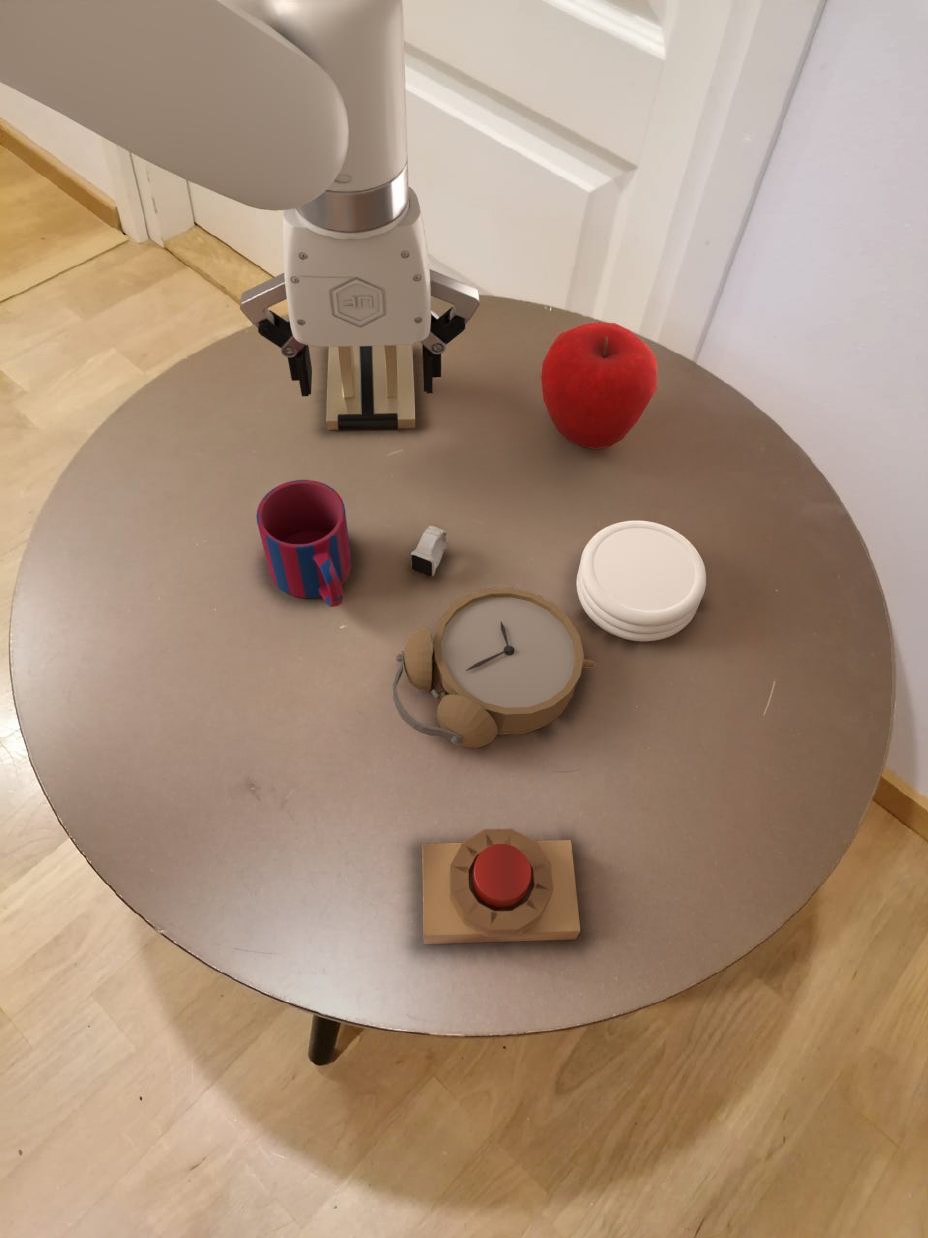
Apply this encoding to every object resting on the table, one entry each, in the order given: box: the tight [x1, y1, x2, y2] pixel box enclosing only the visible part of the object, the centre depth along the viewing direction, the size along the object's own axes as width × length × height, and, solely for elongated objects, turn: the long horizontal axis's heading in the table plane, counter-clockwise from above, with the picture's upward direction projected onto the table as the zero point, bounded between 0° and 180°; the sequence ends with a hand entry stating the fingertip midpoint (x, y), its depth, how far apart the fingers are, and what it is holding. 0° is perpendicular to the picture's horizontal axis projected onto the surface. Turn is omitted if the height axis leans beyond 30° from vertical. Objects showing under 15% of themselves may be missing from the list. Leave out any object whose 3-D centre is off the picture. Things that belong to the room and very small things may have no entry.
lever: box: [337, 346, 399, 433], centre depth 79 cm, size 13×5×2 cm, turn 3°
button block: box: [421, 828, 581, 945], centre depth 61 cm, size 10×6×4 cm, turn 92°
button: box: [473, 844, 531, 908], centre depth 59 cm, size 4×4×2 cm
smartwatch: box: [410, 525, 449, 578], centre depth 76 cm, size 4×2×4 cm, turn 156°
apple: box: [540, 321, 658, 450], centre depth 81 cm, size 10×10×11 cm
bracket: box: [325, 344, 416, 431], centre depth 83 cm, size 10×8×13 cm
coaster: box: [575, 520, 707, 642], centre depth 75 cm, size 10×10×4 cm
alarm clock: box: [392, 587, 596, 749], centre depth 70 cm, size 11×5×15 cm
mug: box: [255, 479, 352, 608], centre depth 73 cm, size 7×10×7 cm
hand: (367, 382), depth 75 cm, fingers open, 9 cm apart
